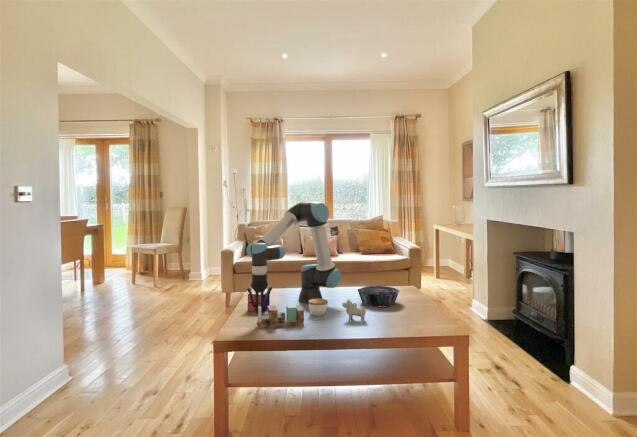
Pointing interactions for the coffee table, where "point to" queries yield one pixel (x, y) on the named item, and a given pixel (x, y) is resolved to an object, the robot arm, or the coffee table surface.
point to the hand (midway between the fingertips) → (259, 319)
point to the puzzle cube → (251, 308)
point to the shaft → (266, 317)
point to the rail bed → (275, 323)
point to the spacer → (291, 313)
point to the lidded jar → (318, 306)
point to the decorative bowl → (378, 295)
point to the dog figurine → (354, 310)
